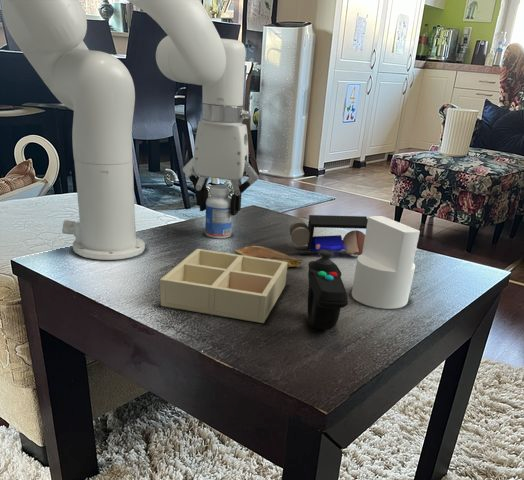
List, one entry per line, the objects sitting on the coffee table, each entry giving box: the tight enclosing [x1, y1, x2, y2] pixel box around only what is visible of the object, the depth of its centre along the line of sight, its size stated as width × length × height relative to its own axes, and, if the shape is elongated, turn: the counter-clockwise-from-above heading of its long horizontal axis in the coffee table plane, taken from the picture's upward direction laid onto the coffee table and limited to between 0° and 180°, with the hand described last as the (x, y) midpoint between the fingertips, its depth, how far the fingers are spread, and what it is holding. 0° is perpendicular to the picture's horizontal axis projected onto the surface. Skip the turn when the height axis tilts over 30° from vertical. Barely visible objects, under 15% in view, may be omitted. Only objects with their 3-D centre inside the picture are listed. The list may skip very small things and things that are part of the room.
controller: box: [307, 250, 349, 331], centre depth 72 cm, size 4×12×10 cm, turn 3°
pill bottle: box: [204, 184, 233, 239], centre depth 108 cm, size 6×5×10 cm
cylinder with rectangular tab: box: [351, 215, 421, 310], centre depth 83 cm, size 9×9×12 cm
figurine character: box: [289, 214, 368, 257], centre depth 103 cm, size 7×8×15 cm
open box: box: [159, 248, 288, 324], centre depth 81 cm, size 15×15×4 cm
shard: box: [234, 245, 303, 268], centre depth 96 cm, size 11×8×2 cm
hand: (219, 211), depth 108 cm, fingers open, 5 cm apart
